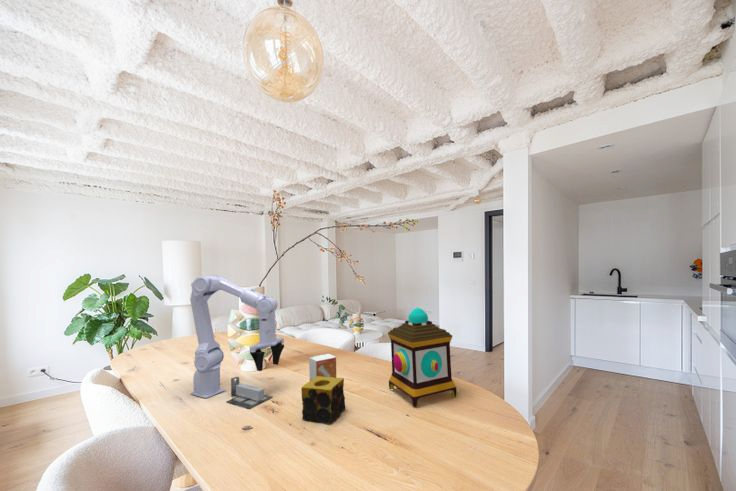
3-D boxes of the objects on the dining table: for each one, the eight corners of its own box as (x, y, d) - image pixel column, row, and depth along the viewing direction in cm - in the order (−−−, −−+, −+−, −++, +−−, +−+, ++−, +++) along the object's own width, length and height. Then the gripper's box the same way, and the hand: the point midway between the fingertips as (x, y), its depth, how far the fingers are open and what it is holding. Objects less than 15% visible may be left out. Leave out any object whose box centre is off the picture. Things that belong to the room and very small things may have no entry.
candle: (346, 409, 98) (345, 377, 99) (332, 425, 88) (331, 390, 89) (317, 406, 101) (317, 375, 102) (301, 421, 92) (300, 386, 92)
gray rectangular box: (235, 394, 110) (235, 385, 111) (241, 392, 113) (241, 383, 113) (258, 400, 105) (258, 391, 105) (264, 398, 107) (264, 388, 107)
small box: (316, 399, 106) (315, 361, 107) (309, 393, 111) (308, 357, 112) (337, 393, 111) (336, 356, 112) (329, 388, 116) (328, 353, 117)
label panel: (226, 402, 106) (226, 400, 106) (250, 391, 115) (250, 390, 115) (249, 409, 100) (249, 407, 100) (272, 397, 109) (272, 396, 109)
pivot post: (229, 395, 112) (229, 379, 112) (236, 393, 114) (236, 376, 115) (234, 397, 110) (234, 380, 111) (241, 394, 113) (241, 377, 113)
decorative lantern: (412, 411, 95) (408, 313, 97) (383, 389, 113) (380, 307, 115) (463, 398, 103) (458, 308, 105) (428, 379, 121) (425, 302, 123)
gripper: (259, 335, 106) (259, 375, 105) (289, 327, 119) (289, 363, 118) (245, 333, 110) (245, 372, 109) (276, 326, 122) (276, 360, 121)
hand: (267, 367), depth 114 cm, fingers open, 7 cm apart
